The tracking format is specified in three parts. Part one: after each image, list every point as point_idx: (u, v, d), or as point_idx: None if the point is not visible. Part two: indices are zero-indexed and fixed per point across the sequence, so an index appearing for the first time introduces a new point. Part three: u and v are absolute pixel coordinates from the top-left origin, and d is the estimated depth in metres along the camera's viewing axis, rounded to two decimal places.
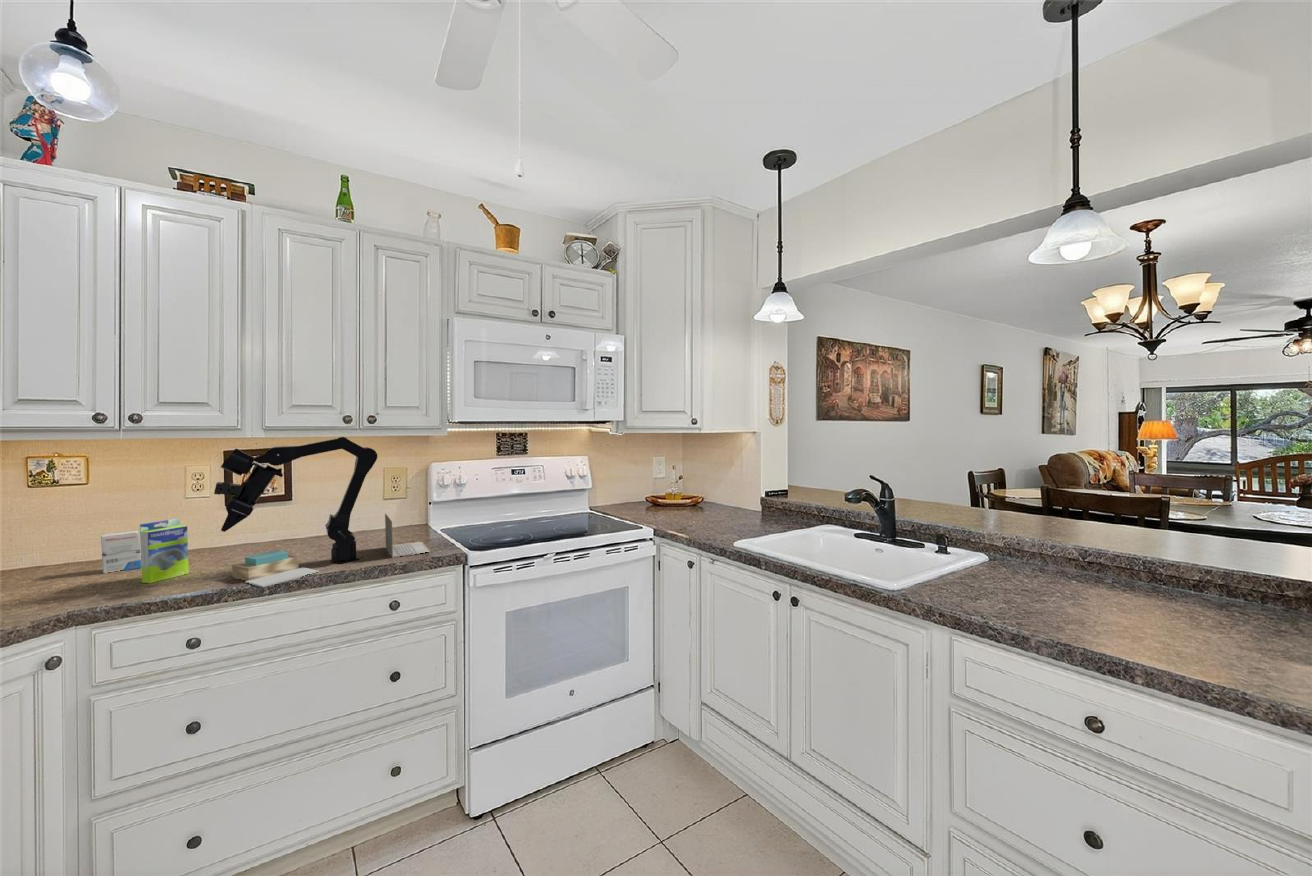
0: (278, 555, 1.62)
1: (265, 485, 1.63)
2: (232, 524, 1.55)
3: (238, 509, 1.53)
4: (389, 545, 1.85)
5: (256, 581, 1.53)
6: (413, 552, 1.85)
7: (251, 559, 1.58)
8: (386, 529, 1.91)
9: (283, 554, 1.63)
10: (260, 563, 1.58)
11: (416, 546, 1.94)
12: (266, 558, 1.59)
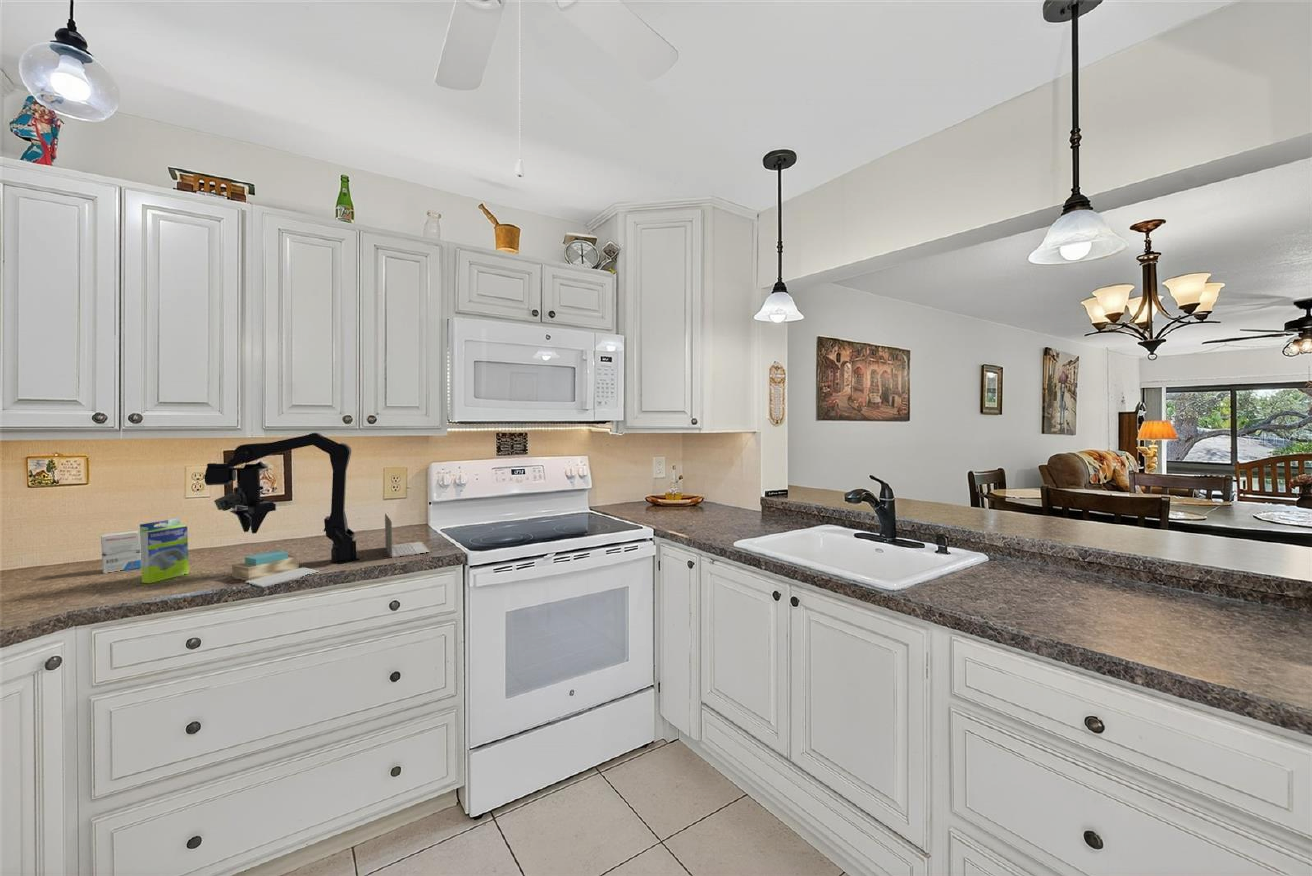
0: (278, 555, 1.62)
1: (255, 482, 1.64)
2: (259, 523, 1.65)
3: (265, 510, 1.61)
4: (389, 545, 1.85)
5: (256, 581, 1.53)
6: (413, 552, 1.85)
7: (251, 559, 1.58)
8: (386, 529, 1.91)
9: (283, 554, 1.63)
10: (260, 563, 1.58)
11: (416, 546, 1.94)
12: (266, 558, 1.59)
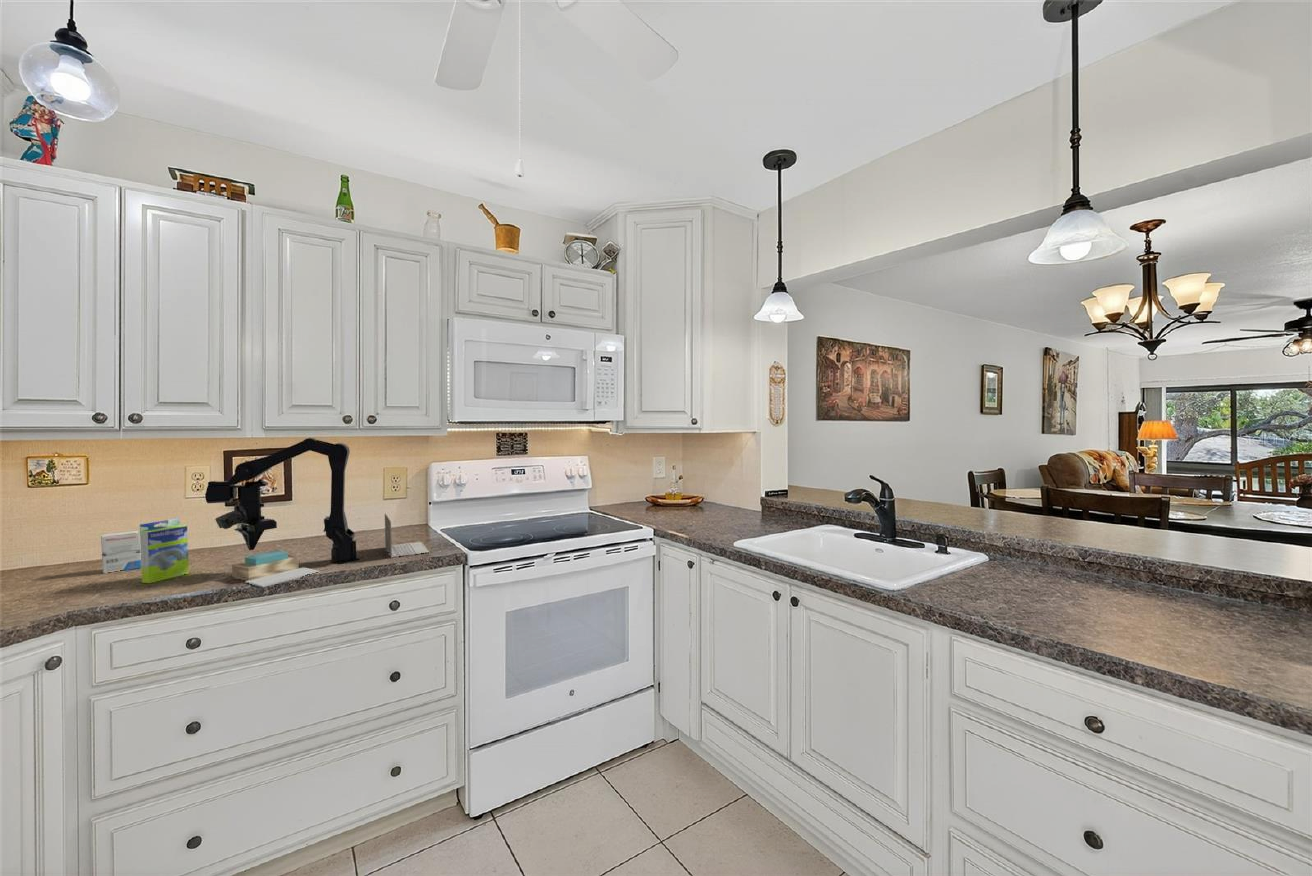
0: (278, 555, 1.62)
1: (256, 499, 1.65)
2: (256, 540, 1.66)
3: (266, 527, 1.61)
4: (388, 545, 1.85)
5: (256, 581, 1.53)
6: (412, 552, 1.85)
7: (251, 559, 1.58)
8: None
9: (283, 554, 1.63)
10: (260, 563, 1.58)
11: (415, 546, 1.94)
12: (266, 558, 1.59)
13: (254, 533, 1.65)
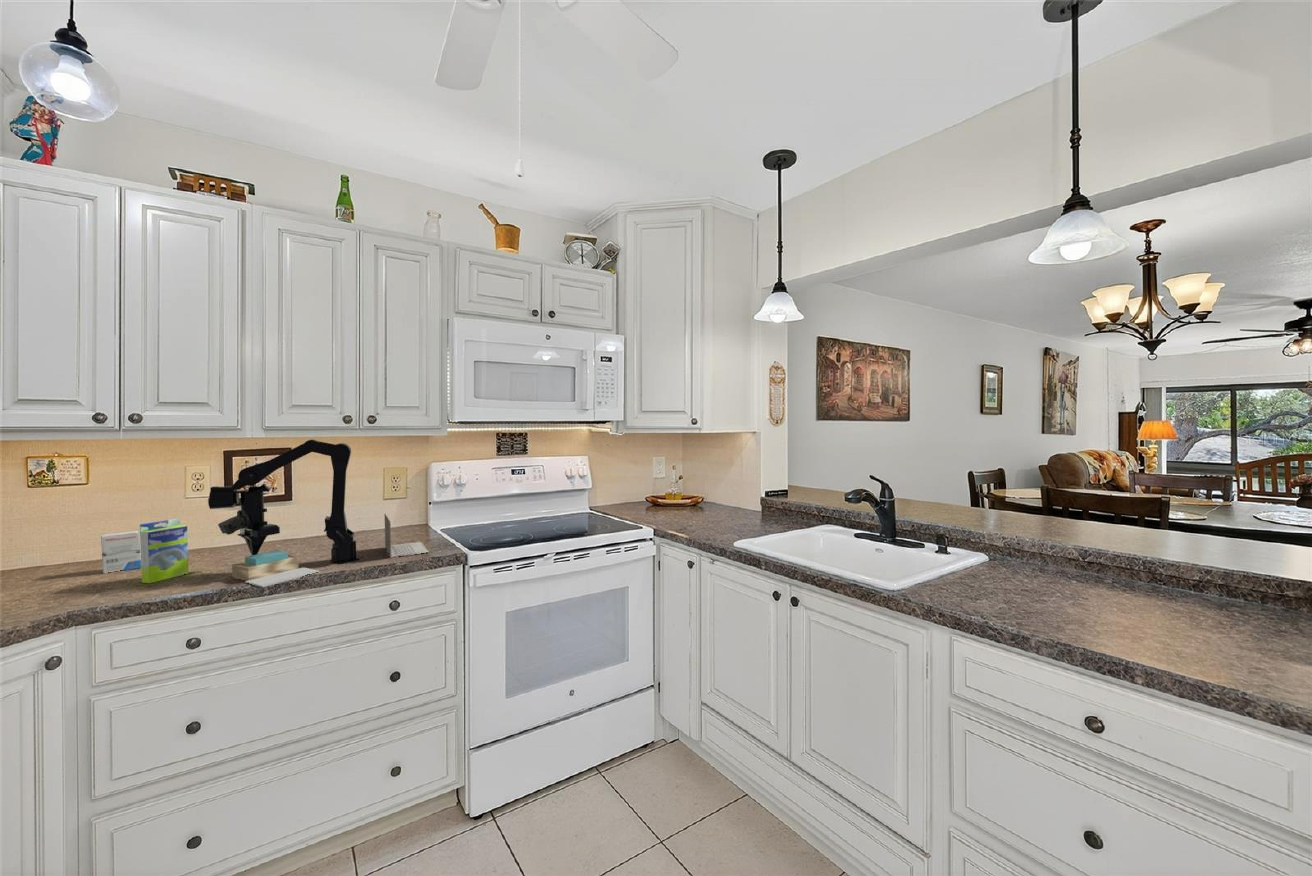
0: (278, 555, 1.62)
1: (260, 504, 1.64)
2: (259, 545, 1.65)
3: (269, 533, 1.61)
4: (388, 545, 1.85)
5: (256, 581, 1.53)
6: (412, 552, 1.85)
7: (251, 559, 1.58)
8: (385, 529, 1.91)
9: (283, 554, 1.63)
10: (260, 563, 1.58)
11: (415, 546, 1.94)
12: (266, 558, 1.59)
13: (257, 538, 1.65)
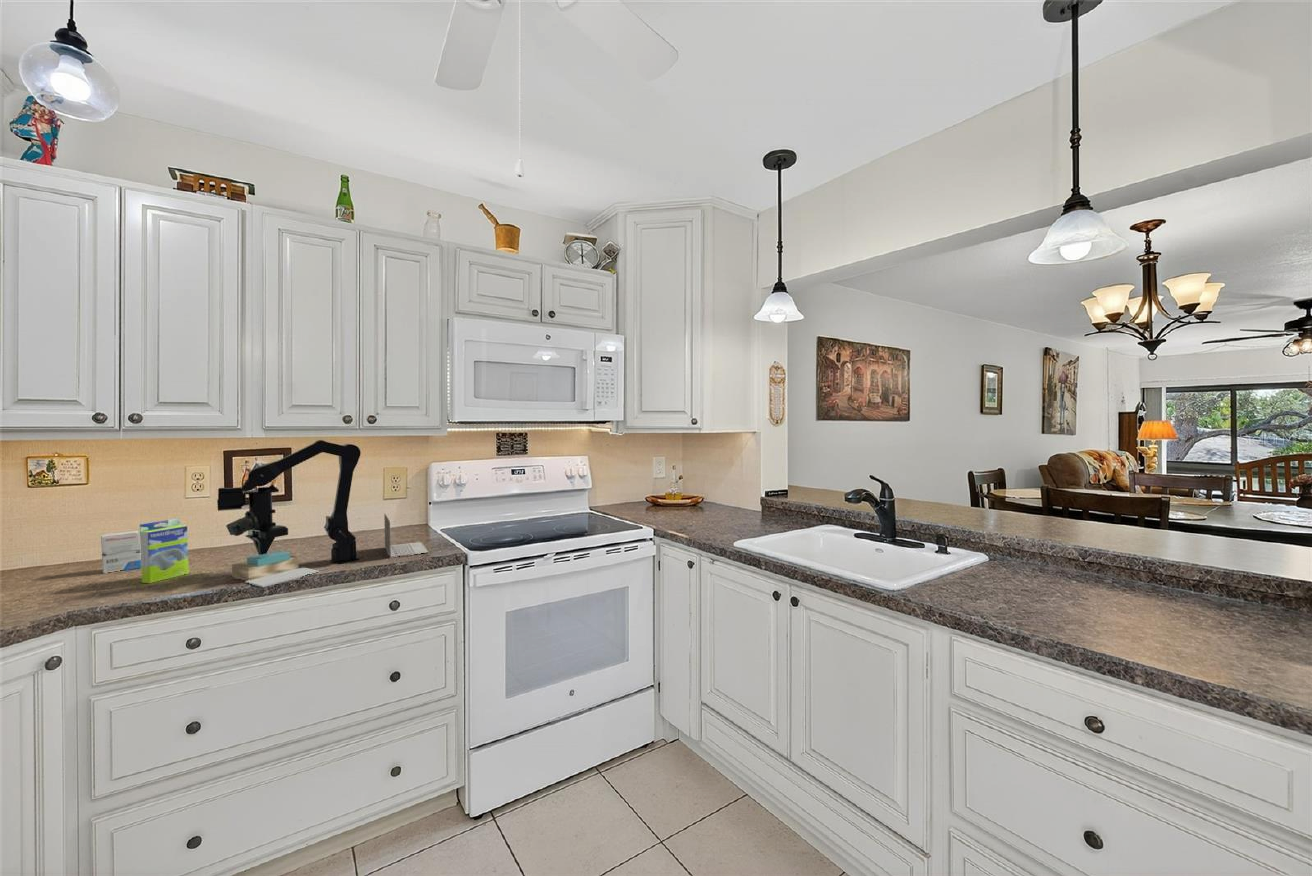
0: (280, 555, 1.62)
1: (269, 505, 1.63)
2: (267, 547, 1.63)
3: (277, 534, 1.58)
4: (387, 545, 1.85)
5: (256, 581, 1.53)
6: (411, 552, 1.85)
7: (253, 559, 1.57)
8: (385, 529, 1.91)
9: (285, 554, 1.63)
10: (262, 564, 1.57)
11: (415, 546, 1.94)
12: (268, 559, 1.59)
13: (265, 540, 1.63)
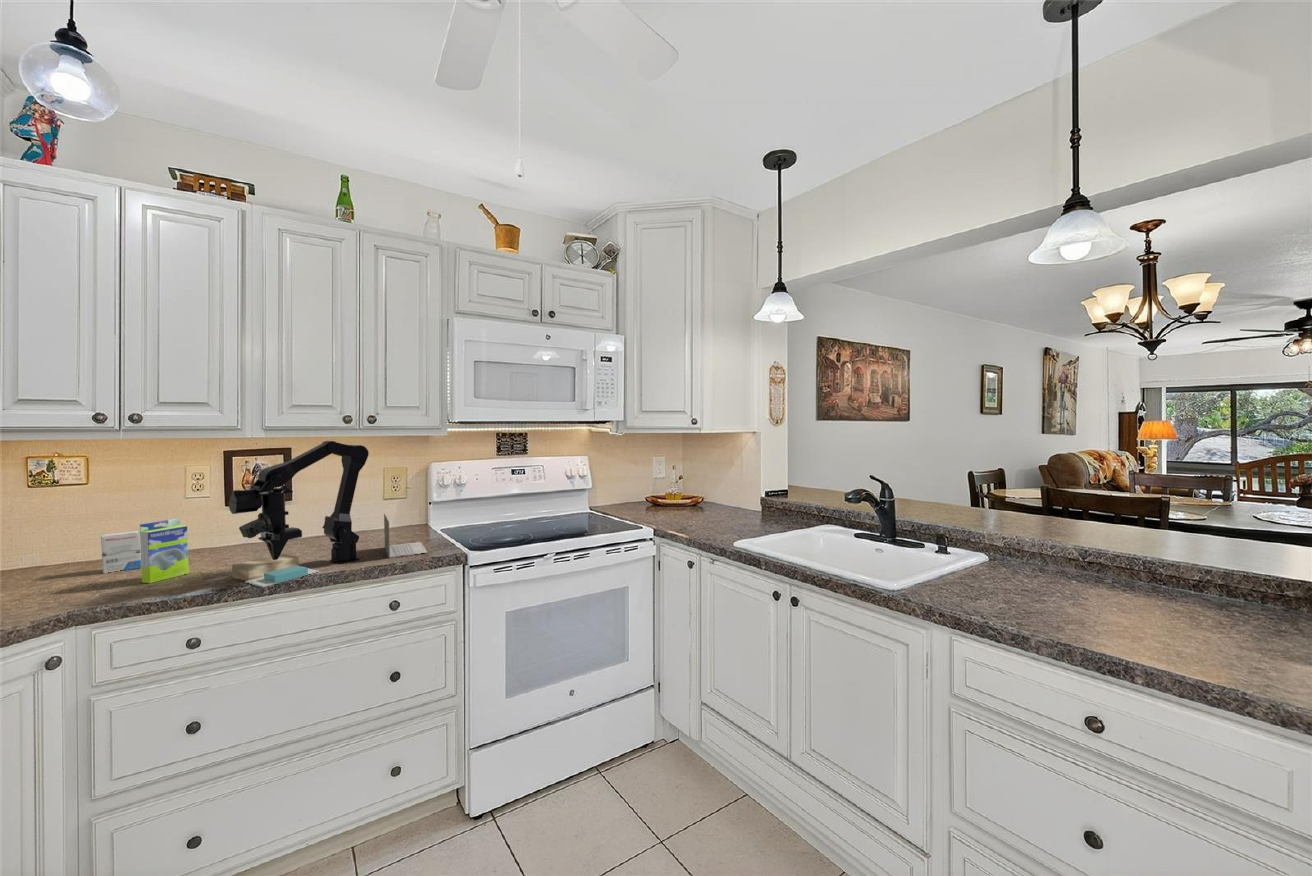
0: None
1: (284, 506, 1.60)
2: (280, 550, 1.60)
3: (291, 537, 1.55)
4: (387, 545, 1.84)
5: (256, 581, 1.53)
6: (410, 552, 1.85)
7: (268, 579, 1.53)
8: None
9: None
10: None
11: (414, 546, 1.94)
12: None
13: (278, 542, 1.59)
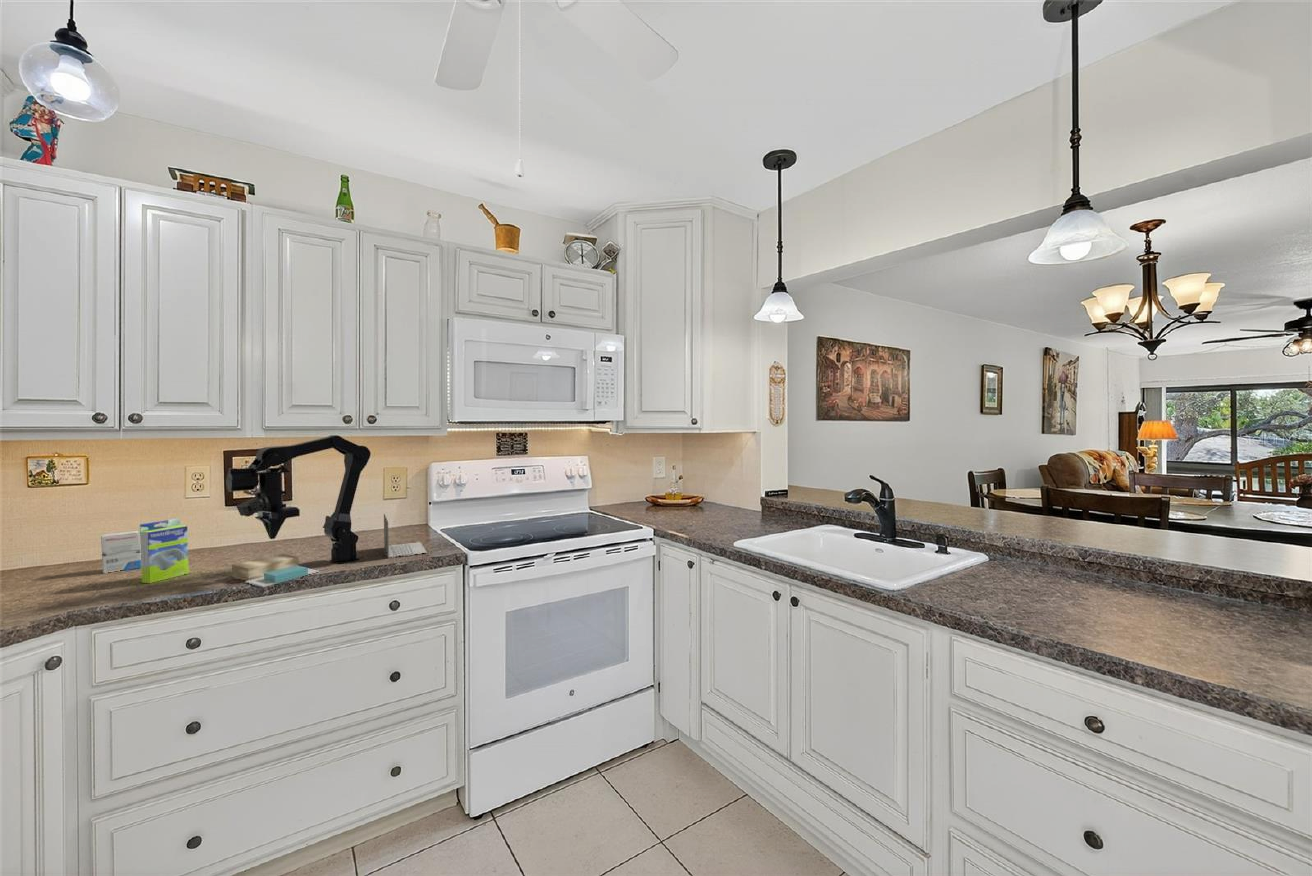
0: None
1: (281, 486, 1.60)
2: (278, 529, 1.61)
3: (289, 515, 1.56)
4: (386, 545, 1.84)
5: (256, 581, 1.53)
6: (410, 553, 1.85)
7: (268, 579, 1.53)
8: (384, 529, 1.91)
9: None
10: None
11: (414, 547, 1.93)
12: None
13: (275, 521, 1.60)
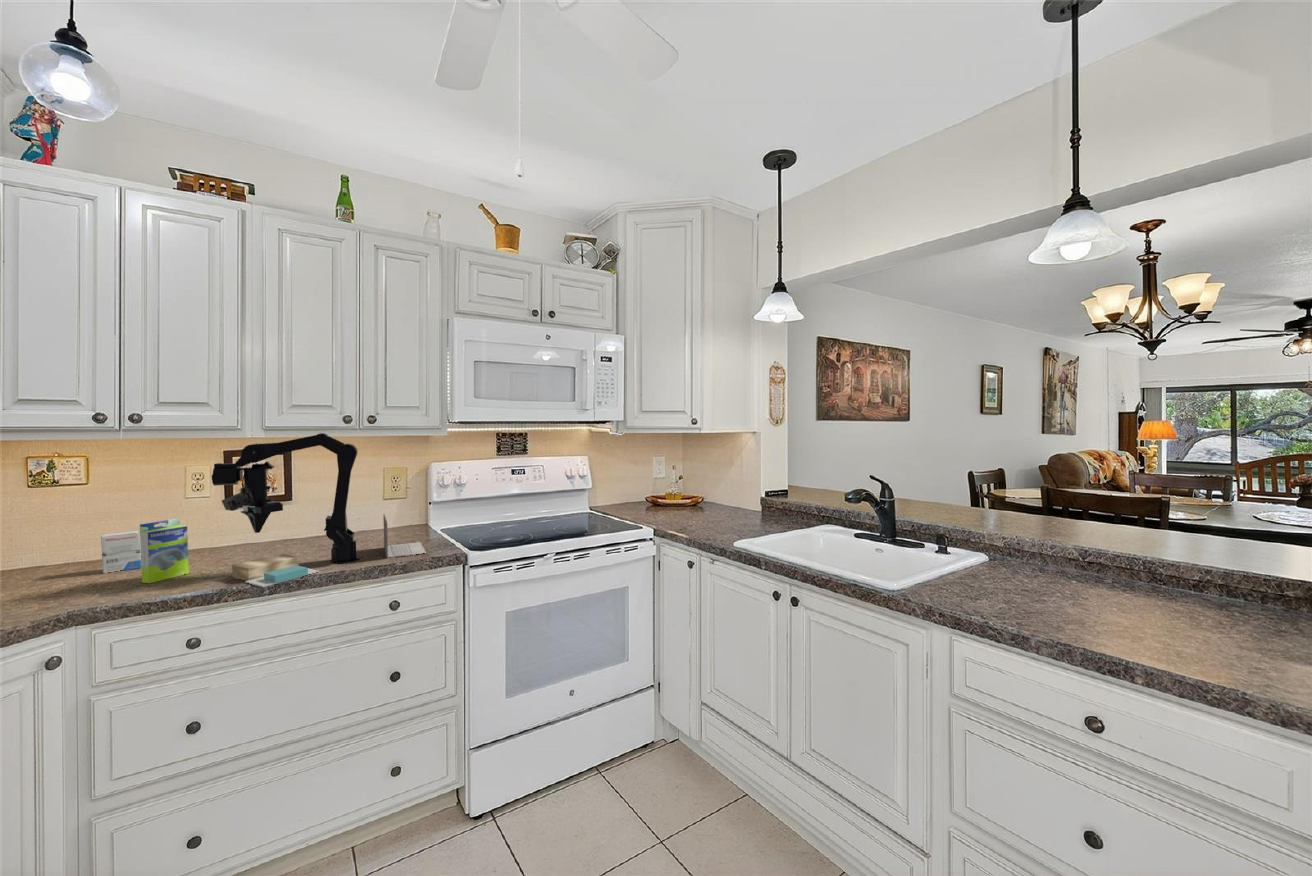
0: None
1: (263, 482, 1.65)
2: (262, 523, 1.66)
3: (272, 510, 1.61)
4: (385, 545, 1.84)
5: (256, 581, 1.53)
6: (409, 553, 1.84)
7: (268, 579, 1.53)
8: None
9: None
10: None
11: (413, 547, 1.93)
12: None
13: (260, 516, 1.65)
